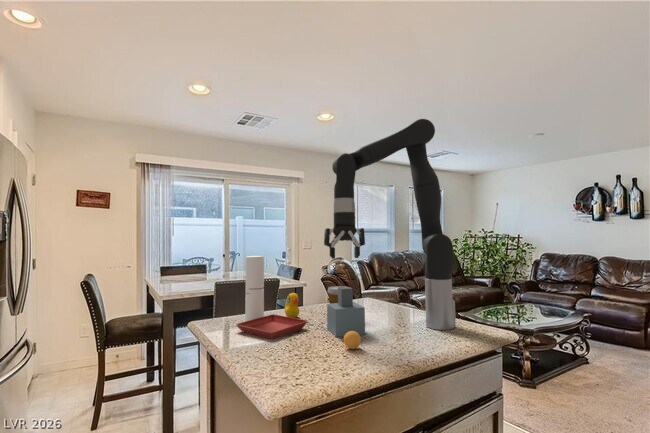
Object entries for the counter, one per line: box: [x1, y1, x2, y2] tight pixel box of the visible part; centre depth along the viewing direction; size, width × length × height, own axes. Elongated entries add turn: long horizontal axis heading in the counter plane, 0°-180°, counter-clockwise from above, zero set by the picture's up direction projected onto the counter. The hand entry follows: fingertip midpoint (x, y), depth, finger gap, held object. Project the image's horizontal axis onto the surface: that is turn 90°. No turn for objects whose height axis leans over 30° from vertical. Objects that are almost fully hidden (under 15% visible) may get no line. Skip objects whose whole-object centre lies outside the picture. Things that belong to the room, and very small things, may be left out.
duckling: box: [284, 292, 300, 319], centre depth 141 cm, size 11×5×10 cm, turn 21°
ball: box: [343, 331, 362, 350], centre depth 101 cm, size 5×5×5 cm
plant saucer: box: [235, 313, 308, 340], centre depth 122 cm, size 18×18×3 cm
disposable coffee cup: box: [326, 285, 346, 304], centre depth 140 cm, size 10×10×12 cm
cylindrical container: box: [244, 255, 265, 322], centre depth 138 cm, size 7×7×25 cm
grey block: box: [326, 286, 366, 338], centre depth 120 cm, size 10×10×15 cm
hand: (344, 258), depth 121 cm, fingers open, 8 cm apart
